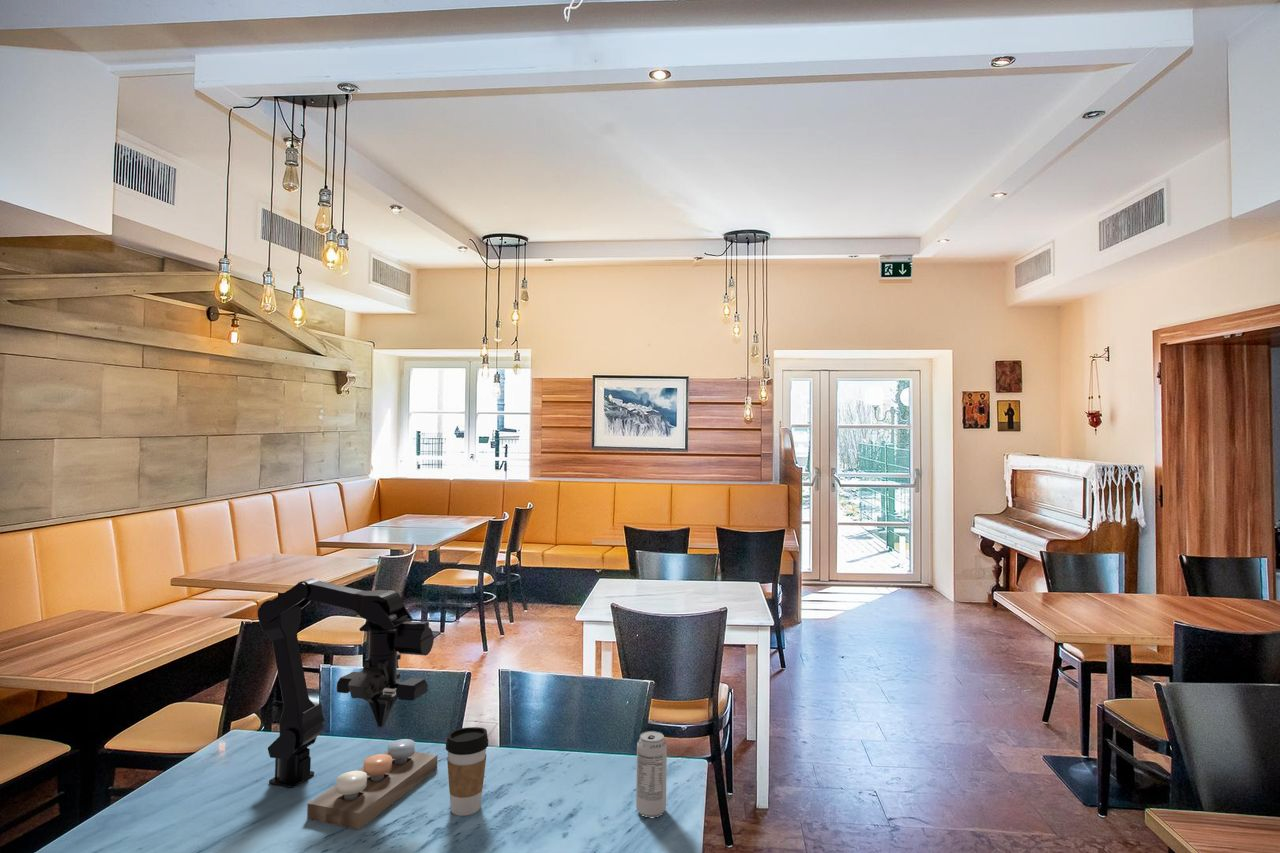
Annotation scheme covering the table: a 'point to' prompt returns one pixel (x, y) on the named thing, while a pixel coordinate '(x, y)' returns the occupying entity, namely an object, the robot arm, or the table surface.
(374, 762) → the terracotta button
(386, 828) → the table surface
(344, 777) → the cream button
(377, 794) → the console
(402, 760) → the slate button
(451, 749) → the coffee cup
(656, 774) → the energy drink can
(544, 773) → the table surface
